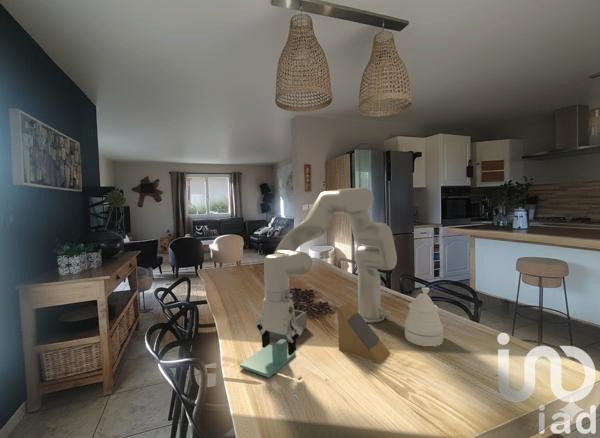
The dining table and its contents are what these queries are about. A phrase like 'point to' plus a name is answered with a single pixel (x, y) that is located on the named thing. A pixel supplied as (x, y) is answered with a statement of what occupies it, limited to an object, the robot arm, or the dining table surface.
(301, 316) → the tub
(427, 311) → the honey pot
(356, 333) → the sandwich container
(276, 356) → the lid
